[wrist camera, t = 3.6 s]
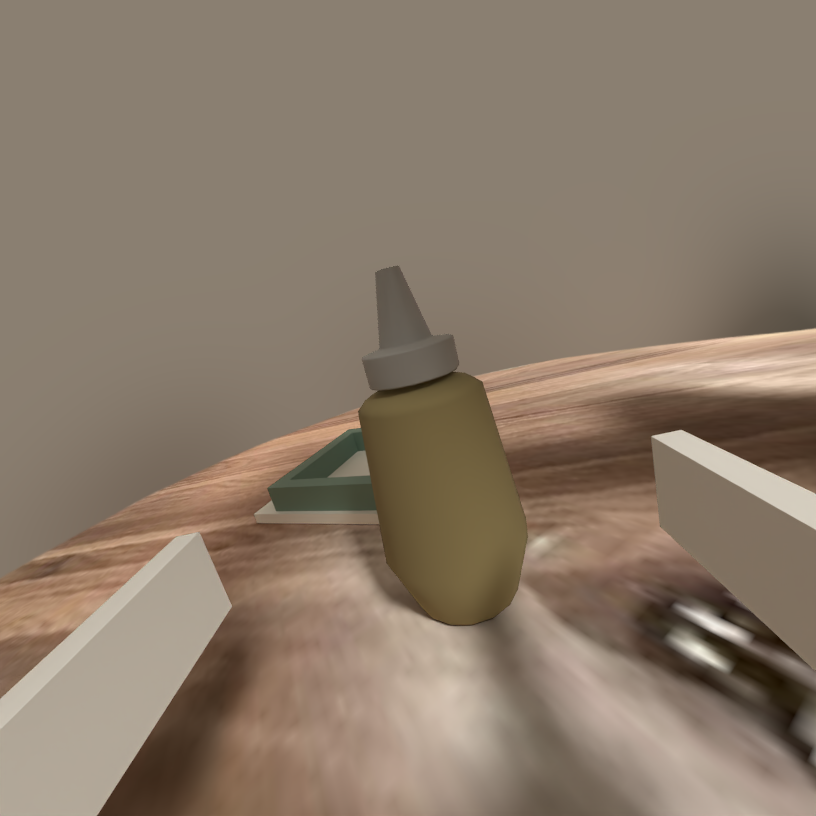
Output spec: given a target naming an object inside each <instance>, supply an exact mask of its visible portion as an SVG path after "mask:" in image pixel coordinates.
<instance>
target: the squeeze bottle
mask: <svg viewBox="0 0 816 816" xmlns="http://www.w3.org/2000/svg"><path fill="white" fill-rule="evenodd" d="M375 277H376V294H377V311H378V312H377V313H378V330H379V346H380V348H379V350H377V351H375V352H373V353H370V354H368V355H366V356H364V357H363V358H362V362H363V365H364V368H365V372H366V376H367V379H368V383H369V386H370V389H372V390H379V391H377V392H376V393H374V394H373V395H371V396H370V397H369V398H368V399H367V400H365V402H364V403H363V405H362V406H361V408H360V409H359V411H358V412H359V420H360V425H361V430H362V436H363V441H364V446H365V451H366V457H367V462H368V467H369V472H370V478H371V483H372V488H373V493H374V499H375V504H376V509H377V514H378V520H379V525H380V530H381V536H382V541H383V546H384V551H385V557H386V562H387V564H388V566H389V567H390V568H391V569H392V571H393V572H394V573H395V574H396V576H397V577H398V578H399V579H400V581H401V582H402V583H403V585H404V586H405V587H406V588H407V590H408V591H409V592H410V593H411V595H412V596H413V597H414V598H415V600H416V601H417V602H418V604H419V605H420V606H421V607H422V608H423V609H424V610H425V611H426V612H427V613H428V614H429V615H430V616H431V617H432V618H433V619H436V620H439V621H442V622H444V623H447V624H450V625H473V624H476V623H479V622H482V621H485V620H488V619H491V618H494V617H495V616H496V615H498V614H499V613H500V612H501V611H503V610H504V609H505V608H506V607H508V606H509V605H510V604H511V602H512V600H513V598H514V596H515V594H516V592H517V590H518V585H519V580H520V575H521V569H522V564H523V559H524V554H525V548H526V543H527V538H528V534H527V524H526V517H525V514H524V511H523V508H522V505H521V502H520V499H519V495H518V492H517V489H516V486H515V483H514V480H513V477H512V473H511V470H510V467H509V464H508V461H507V458H506V455H505V451H504V448H503V445H502V442H501V439H500V436H499V433H498V429H497V426H496V423H495V420H494V417H493V414H492V411H491V407H490V404H489V401H488V398H487V395H486V392H485V389H484V385H483V382H482V381H480V380H478V379H476V378H475V377H473V376H471V375H468V374H466V373H460V372H452V371H454V370H456V369H457V367H458V366H459V360H458V356H457V352H456V347H455V342H454V337H453V335H449V334H446V335H437V336H433V335H431V333H430V331H429V328H428V326H427V324H426V322H425V320H424V318H423V316H422V314H421V312H420V309H419V307H418V305H417V303H416V301H415V299H414V297H413V295H412V292H411V291H410V288H409V286H408V284H407V282H406V280H405V278H404V276H403V273H402V271H401V269H400V267H399V266H394V267H389V268H386V269H382V270H379V271H377V272H375Z"/></svg>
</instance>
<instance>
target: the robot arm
mask: <svg viewBox="0 0 816 816" xmlns="http://www.w3.org/2000/svg"><path fill="white" fill-rule="evenodd" d="M651 441H652V451H653V461H654V471H655V481H656V491H657V501H658V512H659V522H660V527H661V528H662V529H663V530H665V531H666V532H667V533H668V534H669V535H670V536H671V537H672V538H673V539H674V540H675V541H676V542H677V543H679V544H680V545H681V546H682V547H683V548H684V549H685V550H686V551H687V552H688V553H689V554H690V555H691V556H693V557H694V558H695V559H696V560H697V561H698V562H699V563H700V564H701V565H702V566H703V567H704V568H705V569H706V570H708V571H709V572H710V573H711V574H712V575H713V576H714V577H715V578H716V579H717V580H718V581H719V582H720V583H722V584H723V585H724V586H725V587H726V588H727V589H728V590H729V591H730V592H731V593H732V594H733V595H734V596H736V597H737V598H738V599H739V600H740V601H741V602H742V603H743V604H744V605H745V606H746V607H747V608H748V609H750V610H751V611H752V612H753V613H754V614H755V615H756V616H757V617H758V618H759V619H760V620H761V621H762V622H763V623H765V624H766V625H767V626H768V627H769V628H770V629H771V630H772V631H773V632H774V633H775V634H776V635H777V636H779V637H780V638H781V639H782V640H783V641H784V642H785V643H786V644H787V645H788V646H789V647H790V648H791V649H793V650H794V651H795V652H796V653H797V654H798V655H799V656H800V657H801V658H802V659H803V660H804V661H805V662H807V663H808V664H809V665H810V666H811V667H812V668H813V669H814V670H815V671H816V494H815V493H813V492H811V491H809V490H807V489H804V488H802V487H800V486H798V485H796V484H794V483H792V482H790V481H788V480H786V479H783V478H781V477H779V476H777V475H775V474H773V473H771V472H769V471H767V470H765V469H763V468H760V467H758V466H756V465H754V464H752V463H750V462H748V461H746V460H744V459H742V458H739V457H737V456H735V455H733V454H731V453H729V452H727V451H725V450H723V449H721V448H718V447H716V446H714V445H712V444H710V443H708V442H706V441H704V440H702V439H700V438H697V437H695V436H693V435H691V434H689V433H687V432H685V431H683V430H678V431H673V432H668V433H664V434H659V435H654V436H651ZM231 607H232V605H231V603H230V601H229V598H228V596H227V594H226V592H225V589H224V587H223V585H222V582H221V580H220V578H219V576H218V573H217V571H216V569H215V567H214V564H213V562H212V560H211V557H210V555H209V553H208V551H207V548H206V546H205V544H204V542H203V539H202V537H201V535H200V533H199V532H196V533H192V534H187V535H182V536H178V537H175V538H174V539H173V540H172V541H171V542H170V543H169V544H168V545H167V546H166V547H165V548H163V549H162V550H161V551H160V552H159V553H158V554H157V555H156V556H155V557H154V558H153V559H152V560H150V561H149V562H148V563H147V564H146V565H145V566H144V567H143V568H142V569H141V570H140V571H139V572H137V573H136V574H135V575H134V576H133V577H132V578H131V579H130V580H129V581H128V582H127V583H126V584H124V585H123V586H122V587H121V588H120V589H119V590H118V591H117V592H116V593H115V594H114V595H112V596H111V597H110V598H109V599H108V600H107V601H106V602H105V603H104V604H103V605H102V606H101V607H99V608H98V609H97V610H96V611H95V612H94V613H93V614H92V615H91V616H90V617H89V618H88V619H86V620H85V621H84V622H83V623H82V624H81V625H80V626H79V627H78V628H77V629H76V630H75V631H73V632H72V633H71V634H70V635H69V636H68V637H67V638H66V639H65V640H64V641H63V642H61V643H60V644H59V645H58V646H57V647H56V648H55V649H54V650H53V651H52V652H51V653H50V654H48V655H47V656H46V657H45V658H44V659H43V660H42V661H41V662H40V663H39V664H38V665H37V666H35V667H34V668H33V669H32V670H31V671H30V672H29V673H28V674H27V675H26V676H25V677H24V678H22V679H21V680H20V681H19V682H18V683H17V684H16V685H15V686H14V687H13V688H12V689H10V690H9V691H8V692H7V693H6V694H5V695H4V696H3V697H2V698H1V699H0V816H97V815H98V813H99V812H100V810H101V809H102V807H103V806H104V804H105V803H106V801H107V799H108V798H109V796H110V795H111V793H112V792H113V790H114V789H115V787H116V785H117V784H118V782H119V781H120V779H121V778H122V776H123V775H124V773H125V772H126V770H127V768H128V767H129V765H130V764H131V762H132V761H133V759H134V758H135V756H136V754H137V753H138V751H139V750H140V748H141V747H142V745H143V744H144V742H145V741H146V739H147V737H148V736H149V734H150V733H151V731H152V730H153V728H154V727H155V725H156V723H157V722H158V720H159V719H160V717H161V716H162V714H163V713H164V711H165V710H166V708H167V706H168V705H169V703H170V702H171V700H172V699H173V697H174V696H175V694H176V692H177V691H178V689H179V688H180V686H181V685H182V683H183V682H184V680H185V679H186V677H187V675H188V674H189V672H190V671H191V669H192V668H193V666H194V665H195V663H196V661H197V660H198V658H199V657H200V655H201V654H202V652H203V651H204V649H205V648H206V646H207V644H208V643H209V641H210V640H211V638H212V637H213V635H214V634H215V632H216V630H217V629H218V627H219V626H220V624H221V623H222V621H223V620H224V618H225V617H226V615H227V613H228V612H229V610H230V609H231Z"/></svg>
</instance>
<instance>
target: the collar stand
mask: <svg viewBox="0 0 816 816" xmlns="http://www.w3.org/2000/svg"><path fill="white" fill-rule="evenodd" d="M267 489H268V491H269V494H270V497H271V499H272V500H271V501H270V502H269V503H268V504H266V505H265V506H264V507H262V508H261V509H260V510H258V511H257V512H256V513H255V514H254V517H255V519H256V522H257V523H290V524H379V520H378V514H377V509H376V504H375V499H374V493H373V488H372V483H371V478H370V472H369V467H368V462H367V457H366V451H365V446H364V441H363V436H362V430H361V428H357V429H349V430H347V431H346V432H344V433H343V434H342V435H340V436H339V437H338V438H336V439H335V440H333V441H332V442H331V443H329V444H328V445H326V446H325V447H324V448H322V449H321V450H320V451H318V452H317V453H315V454H314V455H313V456H311V457H310V458H308V459H307V460H306V461H304V462H303V463H302V464H300V465H299V466H297V467H296V468H295V469H293V470H292V471H290V472H289V473H288V474H286V475H285V476H283V477H282V478H281V479H279V480H278V481H277V482H275V483H274V484H272V485H271V486H270V487H268V488H267Z"/></svg>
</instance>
